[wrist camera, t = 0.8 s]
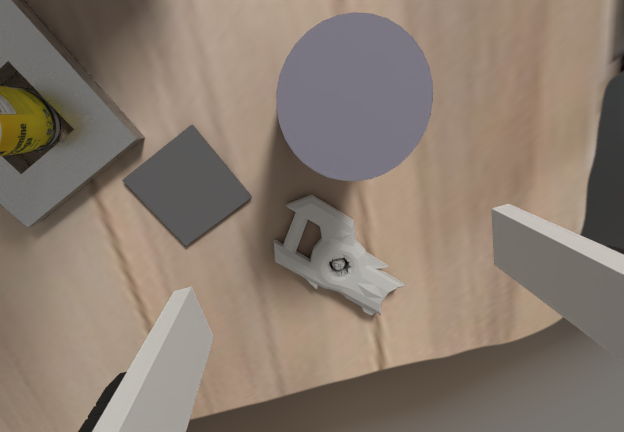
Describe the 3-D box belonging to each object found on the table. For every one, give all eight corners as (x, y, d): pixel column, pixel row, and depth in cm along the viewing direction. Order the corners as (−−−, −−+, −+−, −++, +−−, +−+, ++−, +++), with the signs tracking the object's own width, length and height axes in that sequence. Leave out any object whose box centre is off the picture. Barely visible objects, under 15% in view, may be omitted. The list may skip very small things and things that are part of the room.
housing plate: (-94, 101, 32) (-118, 100, 30) (17, -6, 30) (-1, -14, 28) (40, 221, 36) (27, 227, 34) (144, 137, 34) (136, 138, 32)
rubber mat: (124, 179, 36) (122, 180, 35) (192, 124, 34) (191, 125, 34) (187, 244, 39) (185, 246, 38) (251, 196, 37) (251, 197, 37)
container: (297, 38, 33) (306, -17, 18) (388, 75, 34) (460, 50, 20) (268, 136, 35) (256, 154, 21) (353, 165, 37) (395, 199, 23)
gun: (426, 267, 38) (378, 327, 41) (416, 255, 42) (372, 312, 44) (296, 189, 35) (253, 260, 38) (297, 183, 38) (257, 249, 41)
